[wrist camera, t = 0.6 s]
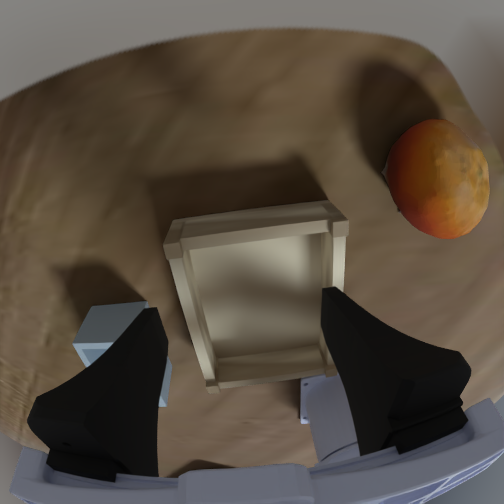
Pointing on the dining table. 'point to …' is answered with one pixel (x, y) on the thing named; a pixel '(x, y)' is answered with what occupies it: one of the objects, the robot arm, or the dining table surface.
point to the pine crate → (258, 289)
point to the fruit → (438, 179)
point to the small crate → (111, 335)
